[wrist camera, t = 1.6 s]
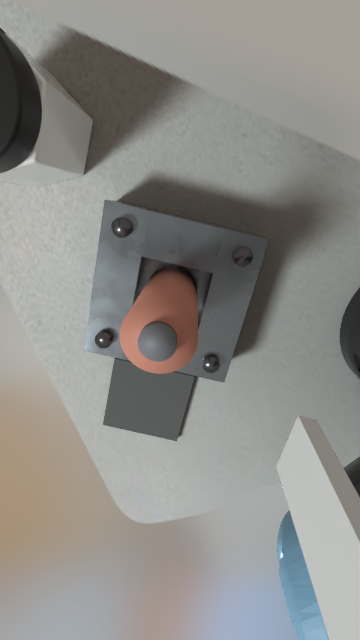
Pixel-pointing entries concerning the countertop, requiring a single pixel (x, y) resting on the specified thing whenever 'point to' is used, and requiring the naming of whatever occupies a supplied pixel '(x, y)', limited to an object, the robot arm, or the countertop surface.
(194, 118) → the countertop surface
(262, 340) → the countertop surface
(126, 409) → the rubber pad
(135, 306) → the orange cylinder
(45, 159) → the jar
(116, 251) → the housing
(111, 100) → the countertop surface
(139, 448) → the countertop surface
